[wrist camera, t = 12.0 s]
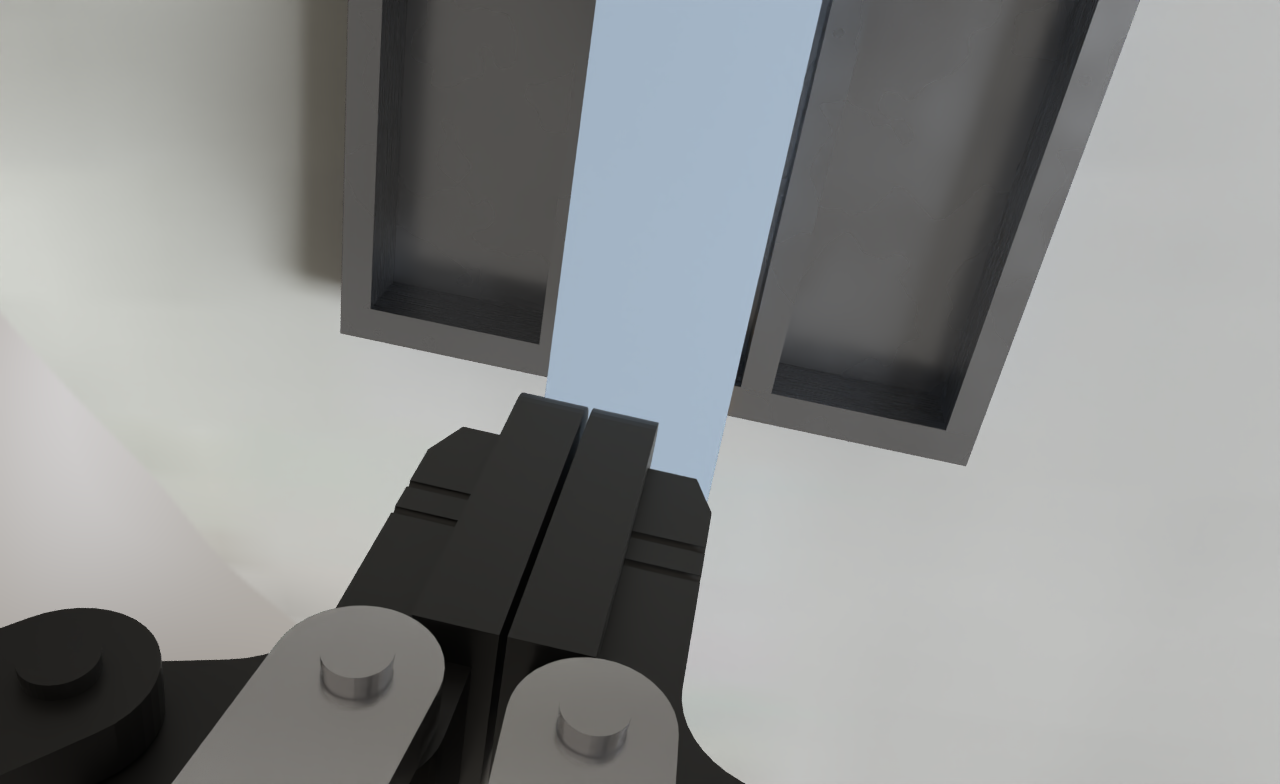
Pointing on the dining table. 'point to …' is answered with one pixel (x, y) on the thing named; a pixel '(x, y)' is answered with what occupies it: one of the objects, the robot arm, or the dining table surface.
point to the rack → (804, 212)
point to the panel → (674, 210)
